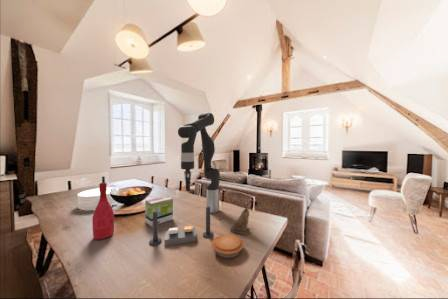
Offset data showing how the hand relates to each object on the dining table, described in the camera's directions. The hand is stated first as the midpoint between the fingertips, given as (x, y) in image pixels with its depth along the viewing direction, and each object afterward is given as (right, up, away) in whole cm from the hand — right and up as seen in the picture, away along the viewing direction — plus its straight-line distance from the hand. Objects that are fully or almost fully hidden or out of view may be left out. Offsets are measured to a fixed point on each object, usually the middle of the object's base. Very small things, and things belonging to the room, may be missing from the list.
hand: (187, 189), depth 96 cm
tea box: (-23, -25, +16) cm, 38 cm away
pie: (+23, -26, -15) cm, 38 cm away
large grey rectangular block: (-3, -26, -5) cm, 26 cm away
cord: (-15, -26, -9) cm, 31 cm away
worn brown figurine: (+31, -26, +2) cm, 40 cm away
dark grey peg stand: (+12, -26, -1) cm, 28 cm away
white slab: (-6, -21, -6) cm, 23 cm away
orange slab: (+1, -21, -4) cm, 21 cm away
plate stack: (-86, -25, +47) cm, 101 cm away
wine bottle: (-47, -26, -2) cm, 53 cm away
